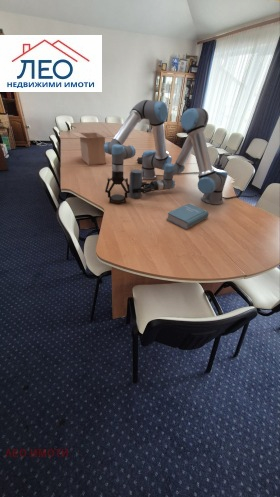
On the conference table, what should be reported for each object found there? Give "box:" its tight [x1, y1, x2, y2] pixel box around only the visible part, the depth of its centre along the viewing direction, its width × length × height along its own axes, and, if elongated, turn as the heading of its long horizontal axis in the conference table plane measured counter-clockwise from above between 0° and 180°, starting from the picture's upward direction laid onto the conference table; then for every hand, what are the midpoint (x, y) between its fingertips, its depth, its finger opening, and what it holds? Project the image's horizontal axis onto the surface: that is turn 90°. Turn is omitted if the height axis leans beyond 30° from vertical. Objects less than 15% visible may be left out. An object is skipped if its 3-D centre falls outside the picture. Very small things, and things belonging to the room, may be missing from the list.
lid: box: [111, 194, 125, 204], centre depth 157 cm, size 10×10×2 cm
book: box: [166, 203, 209, 230], centre depth 143 cm, size 23×16×5 cm
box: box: [70, 129, 114, 166], centre depth 229 cm, size 44×36×27 cm
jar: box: [128, 168, 143, 199], centre depth 164 cm, size 9×9×19 cm
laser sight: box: [136, 154, 143, 165], centre depth 237 cm, size 10×22×10 cm, turn 78°
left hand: (117, 201), depth 159 cm, fingers closed on lid, 10 cm apart
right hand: (129, 188), depth 164 cm, fingers closed on jar, 9 cm apart
